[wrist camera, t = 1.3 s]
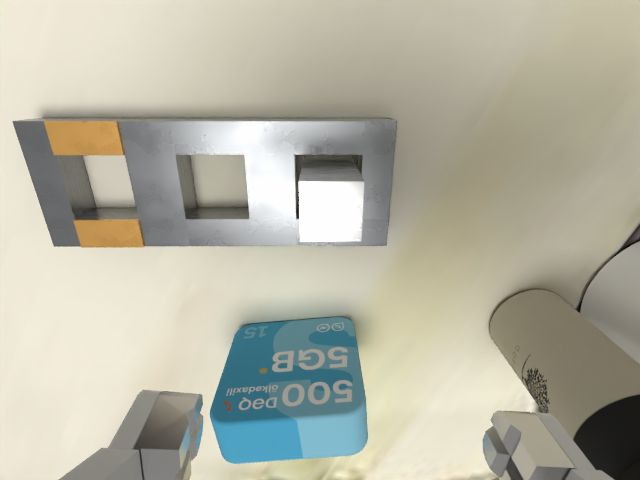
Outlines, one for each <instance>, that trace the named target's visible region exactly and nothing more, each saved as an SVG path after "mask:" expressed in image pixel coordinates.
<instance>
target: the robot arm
mask: <svg viewBox="0 0 640 480" xmlns="http://www.w3.org/2000/svg"><path fill="white" fill-rule="evenodd" d="M580 314H581V315H582V316H584V317H585V318H586V319H587V320H588V321H589V322H591V323H592V324H593V325H594V326H595V327H597V328H598V329H599V330H600V331H601V332H602V333H604V334H605V335H606V336H607V337H608V338H609V339H611V340H612V341H613V342H614V343H615V344H616V345H618V346H619V347H620V348H621V349H622V350H624V351H625V352H626V353H627V354H628V355H629V356H631V357H632V358H633V359H634V360H635V361H636V362H638V363H639V364H640V241H639V242H637V243H635V244H633V245H631V246H629V247H628V248H626V249H625V250H623V251H622V252H620V253H619V254H618V255H616V256H615V257H614V258H612V259H611V260H610V261H609V262H608V263H607V264H606V265H605V266H604V267H603V268H602V269H601V270H600V271H599V272H598V274H597V275H596V276H595V277H594V279H593V280H592V282H591V283H590V285H589V287H588V289H587V291H586V293H585V295H584V298H583V301H582V305H581V311H580ZM202 405H203V401H202V395H201V394H192V393H180V392H168V391H152V390H142V391H141V392H140V393H139V394H138V395H137V397H136V399H135V401H134V403H133V404H132V406H131V408H130V410H129V412H128V413H127V415H126V417H125V419H124V420H123V422H122V424H121V426H120V428H119V429H118V431H117V433H116V435H115V436H114V438H113V440H112V442H111V444H110V445H109V447H108V448H101V449H100V450H98V451H97V452H95V453H94V454H93V455H91V456H90V457H89V458H87V459H86V460H85V461H83V462H82V463H81V464H79V465H78V466H77V467H75V468H74V469H73V470H71V471H70V472H68V473H67V474H66V475H64V476H63V477H62V478H60V479H59V480H189V479H190V476H191V460H193V459H194V458H195V457H196V456H197V452H198V449H199V446H200V441H201V436H202V429H203V416H202V415H201V414H200V411H201V408H202ZM491 422H492V424H493V427H491V428H490V429H488V430H487V431H486V432H485V435H484V438H483V452H484V455H485V459H486V461H487V463H488V466H489V468H490V469H491V470H492V471H493V472H494V473H495V474H496V475H497V476H499V480H614V479H613V478H611V477H610V476H609V475H607V474H606V473H604V472H603V471H601V470H596V469H595V468H594V467H593V466H592V464H591V463H590V462H589V460H588V459H587V458H586V456H585V455H584V454H583V452H582V451H581V450H580V449H579V447H578V446H577V445H576V443H575V442H574V441H573V439H572V438H571V437H570V435H569V434H568V433H567V432H566V430H565V429H564V428H563V426H562V425H561V424H560V422H559V421H558V420H557V419H556V417H554V416H553V415H552V414H550V413H534V412H532V413H530V412H517V411H497V412H495V413H494V414H493V416H492V418H491Z"/></svg>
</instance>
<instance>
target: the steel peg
mask: <svg viewBox="0 0 640 480" xmlns="http://www.w3.org/2000/svg"><path fill="white" fill-rule="evenodd" d="M363 198H364V180H363V178H362V176H361V174H360V172H359V170H358V168H357V166H356V164H355V162H354V161H353V159H352V157H351V156H304V157H303V162H302V167H301V172H300V178H299V214H300V242H361V235H362V217H363Z"/></svg>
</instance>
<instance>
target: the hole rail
mask: <svg viewBox="0 0 640 480" xmlns="http://www.w3.org/2000/svg"><path fill="white" fill-rule="evenodd" d="M13 124H14V127H15V131H16V134H17V137H18V140H19V143H20V146H21V149H22V152H23V155H24V158H25V161H26V164H27V167H28V170H29V173H30V176H31V179H32V182H33V185H34V188H35V191H36V194H37V197H38V200H39V203H40V206H41V209H42V212H43V215H44V218H45V221H46V224H47V227H48V230H49V233H50V236H51V239H52V242H53V245H54V246H81V247H145V246H387V234H388V222H389V211H390V199H391V187H392V175H393V164H394V152H395V140H396V128H397V121H395V120H392V119H390V118H38V119H28V120H19V121H13ZM82 155H125V158H126V162H127V167H128V171H129V176H130V180H131V185H132V190H133V194H134V199H135V203H136V208H96V205H95V202H94V198H93V194H92V190H91V187H90V183H89V179H88V175H87V172H86V168H85V164H84V160H83V156H82ZM190 155H244V158H245V170H246V182H247V194H248V206H249V208H197V202H196V195H195V188H194V181H193V175H192V168H191V161H190ZM297 155H358V170H359V172H360V174H361V176H362V178H363V180H364V198H363V217H362V235H361V242H300V214H299V208H298V191H297Z"/></svg>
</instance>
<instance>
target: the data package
mask: <svg viewBox="0 0 640 480" xmlns="http://www.w3.org/2000/svg"><path fill="white" fill-rule="evenodd" d="M210 418H211V421H212V425H213V428H214V431H215V434H216V438H217V441H218V444H219V448H220V451H221V454H222V456H223V458H224V459H225V460H226V461H228V462H230V463H234V464H241V463H255V462H269V461H282V460H296V459H310V458H324V457H338V456H350V455H354V454H357V453H358V452H360V451H361V450H362V449H363V448H364V447H365V445H366V443H367V439H368V430H367V412H366V397H365V390H364V384H363V378H362V372H361V365H360V359H359V353H358V347H357V341H356V334H355V328H354V324H353V323H352V322H351V321H350V320H349V319H347V318H344V317H329V318H317V319H305V320H293V321H281V322H269V323H257V324H250V325H246V326H244V327H242V328H241V329H239V330H238V331H237V333H236V334H235V337H234V340H233V343H232V346H231V349H230V352H229V355H228V358H227V361H226V364H225V367H224V370H223V373H222V376H221V379H220V382H219V385H218V388H217V391H216V394H215V397H214V400H213V403H212V406H211V410H210Z"/></svg>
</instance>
